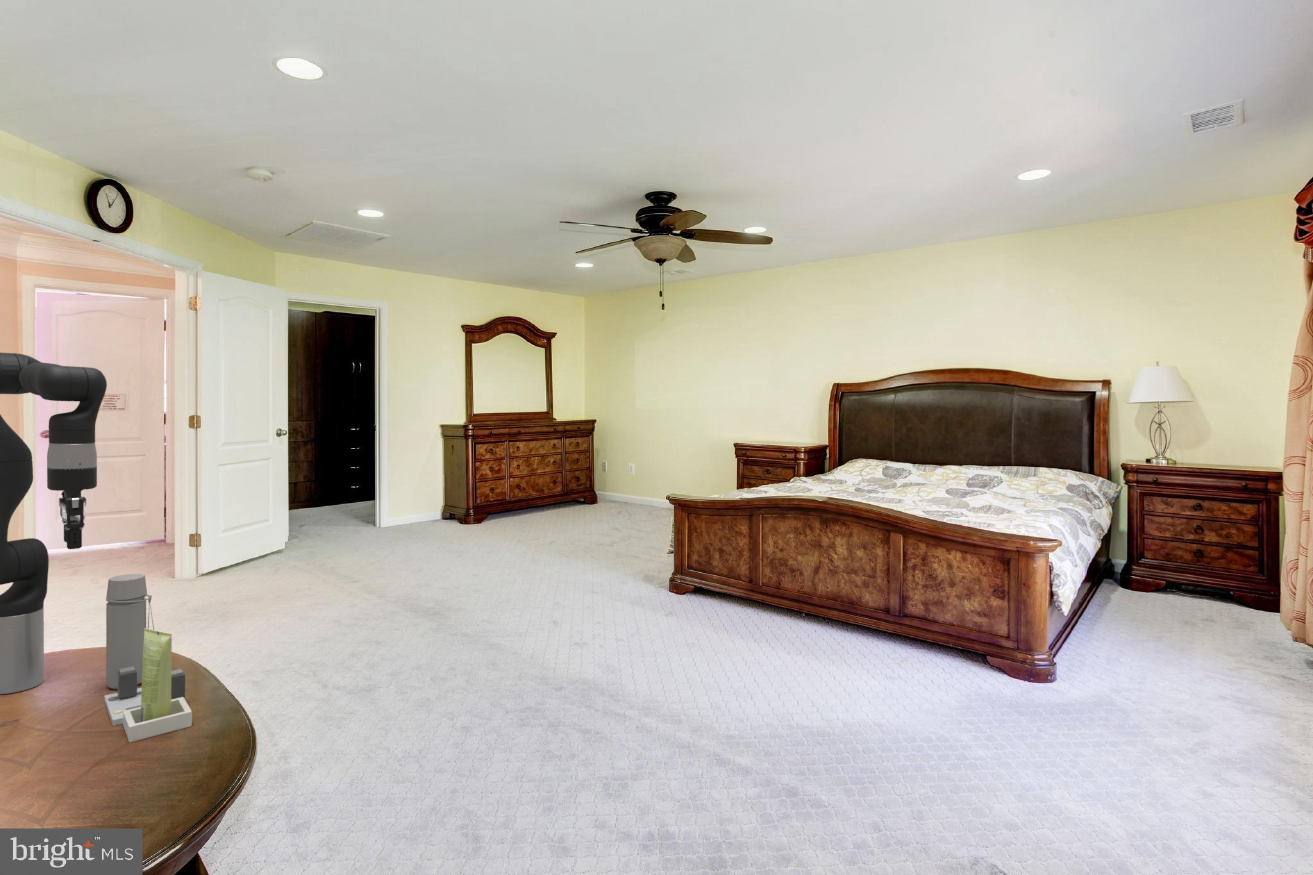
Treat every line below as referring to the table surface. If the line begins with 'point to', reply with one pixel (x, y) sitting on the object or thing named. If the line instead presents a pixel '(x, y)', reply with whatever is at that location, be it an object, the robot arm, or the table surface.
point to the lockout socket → (157, 721)
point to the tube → (156, 675)
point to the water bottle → (125, 625)
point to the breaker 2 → (177, 684)
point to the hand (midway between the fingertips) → (72, 545)
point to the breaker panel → (121, 705)
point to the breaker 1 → (126, 682)
